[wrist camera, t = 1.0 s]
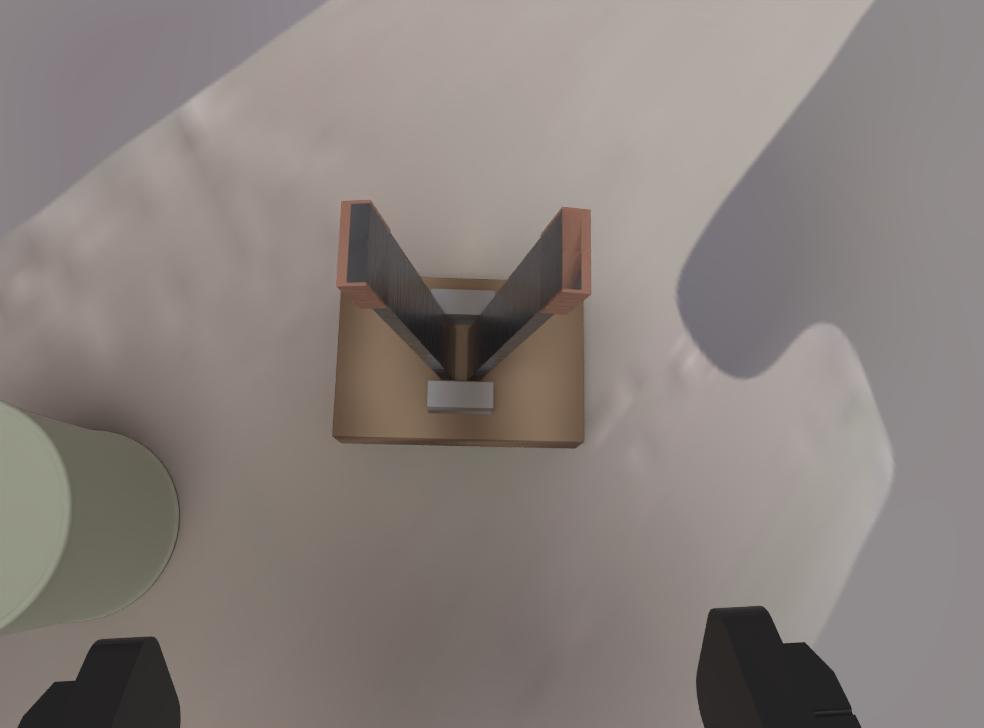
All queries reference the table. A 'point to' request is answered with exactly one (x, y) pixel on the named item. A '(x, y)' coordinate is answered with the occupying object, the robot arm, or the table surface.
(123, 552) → the can
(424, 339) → the bar
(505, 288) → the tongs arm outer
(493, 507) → the table surface
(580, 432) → the stand
